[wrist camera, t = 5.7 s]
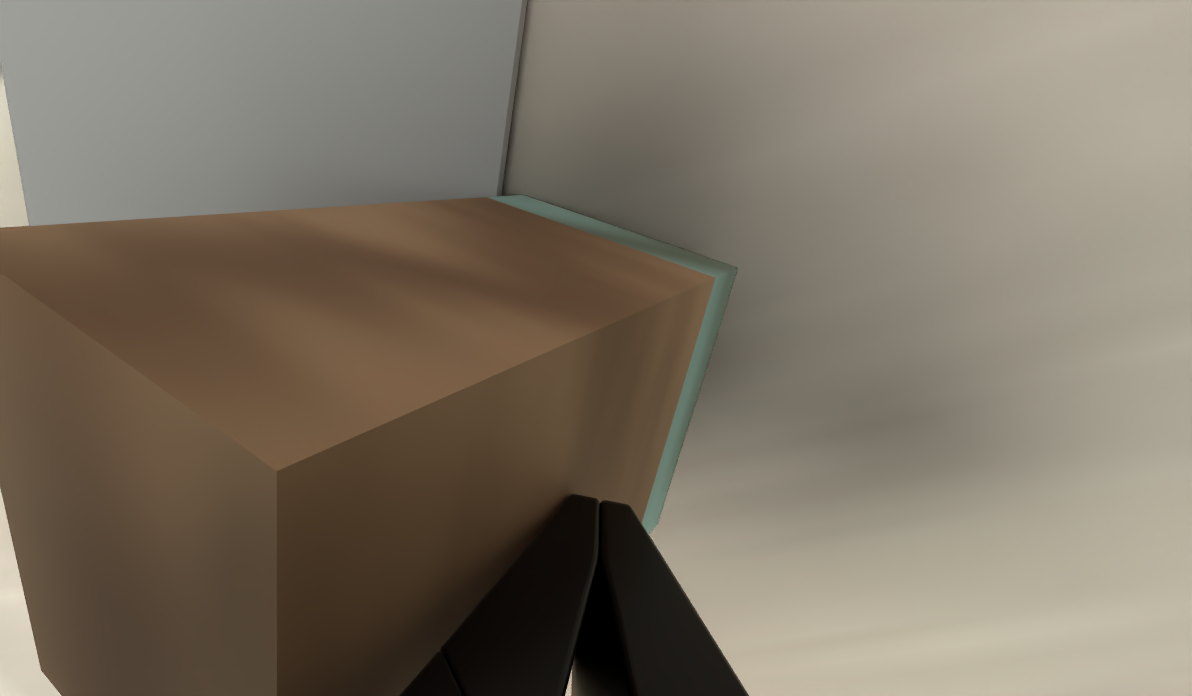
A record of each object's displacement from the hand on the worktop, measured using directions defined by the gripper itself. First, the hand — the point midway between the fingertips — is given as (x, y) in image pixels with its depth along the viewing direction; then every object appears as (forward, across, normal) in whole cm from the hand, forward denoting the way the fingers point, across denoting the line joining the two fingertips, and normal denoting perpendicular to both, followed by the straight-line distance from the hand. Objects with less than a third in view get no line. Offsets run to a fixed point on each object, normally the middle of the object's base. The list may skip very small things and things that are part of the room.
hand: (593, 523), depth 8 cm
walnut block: (+5, 0, 0) cm, 5 cm away
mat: (+6, +8, 0) cm, 10 cm away
